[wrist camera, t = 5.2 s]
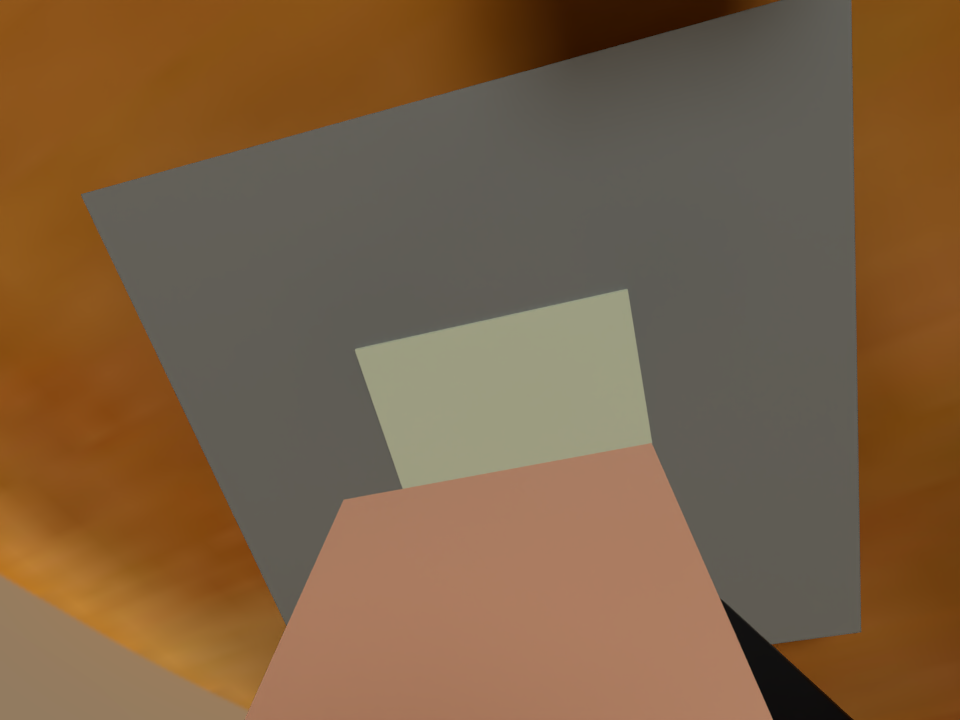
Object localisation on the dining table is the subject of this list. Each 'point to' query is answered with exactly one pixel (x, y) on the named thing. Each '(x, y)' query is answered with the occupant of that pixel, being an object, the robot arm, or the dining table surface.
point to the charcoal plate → (538, 300)
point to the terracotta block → (513, 605)
